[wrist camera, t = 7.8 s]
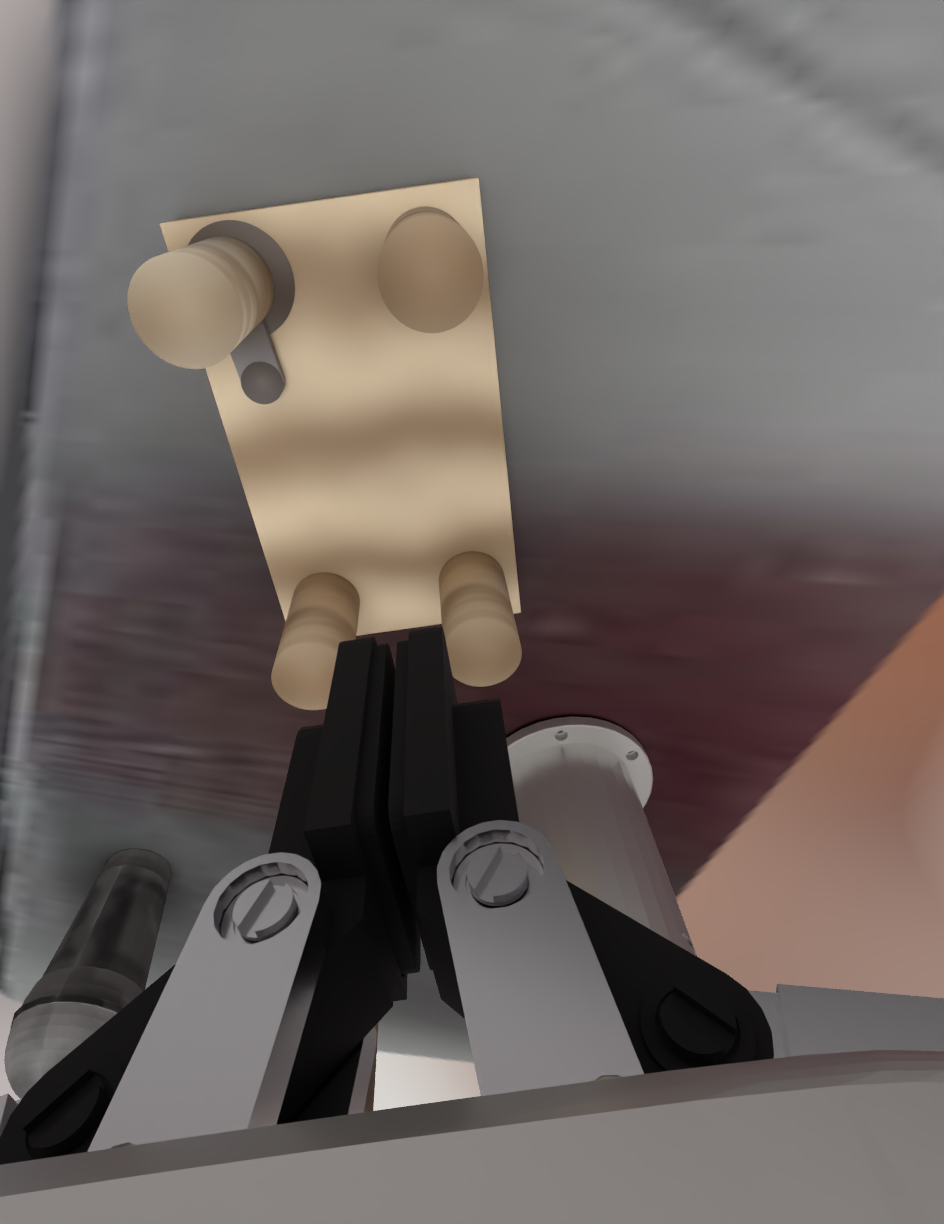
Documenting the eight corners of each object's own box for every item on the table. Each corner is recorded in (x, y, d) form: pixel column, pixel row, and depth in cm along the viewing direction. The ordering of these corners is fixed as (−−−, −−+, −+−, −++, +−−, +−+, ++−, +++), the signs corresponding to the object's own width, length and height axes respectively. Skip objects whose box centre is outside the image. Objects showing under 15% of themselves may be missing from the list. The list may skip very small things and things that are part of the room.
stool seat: (515, 589, 42) (540, 690, 34) (299, 620, 42) (272, 728, 34) (473, 177, 30) (496, 180, 22) (177, 219, 30) (93, 237, 22)
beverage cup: (72, 881, 52) (-89, 1219, 35) (108, 823, 49) (-49, 1161, 33) (167, 910, 55) (59, 1238, 38) (206, 857, 52) (108, 1186, 35)
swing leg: (310, 390, 32) (286, 440, 26) (234, 407, 32) (193, 462, 26) (255, 226, 28) (214, 241, 22) (170, 247, 29) (107, 268, 23)
